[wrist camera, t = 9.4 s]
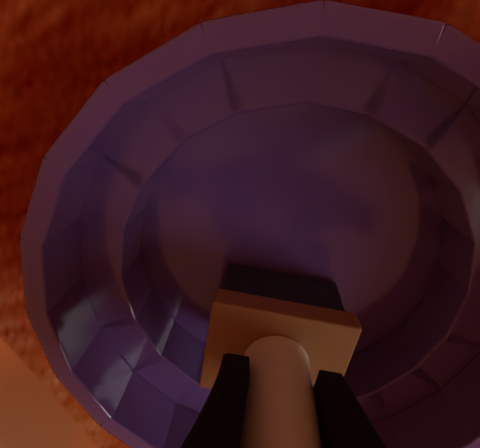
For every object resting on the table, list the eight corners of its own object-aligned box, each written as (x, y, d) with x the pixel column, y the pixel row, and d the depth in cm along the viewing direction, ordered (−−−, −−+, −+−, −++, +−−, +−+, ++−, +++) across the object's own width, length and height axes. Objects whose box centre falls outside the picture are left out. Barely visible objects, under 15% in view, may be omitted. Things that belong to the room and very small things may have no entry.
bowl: (576, 78, 10) (777, 81, 6) (406, 413, 16) (455, 530, 12) (99, -10, 10) (-10, -63, 6) (96, 357, 16) (37, 456, 12)
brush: (343, 278, 13) (476, 630, 5) (319, 350, 14) (390, 721, 6) (223, 255, 13) (148, 572, 5) (210, 330, 14) (135, 675, 6)
